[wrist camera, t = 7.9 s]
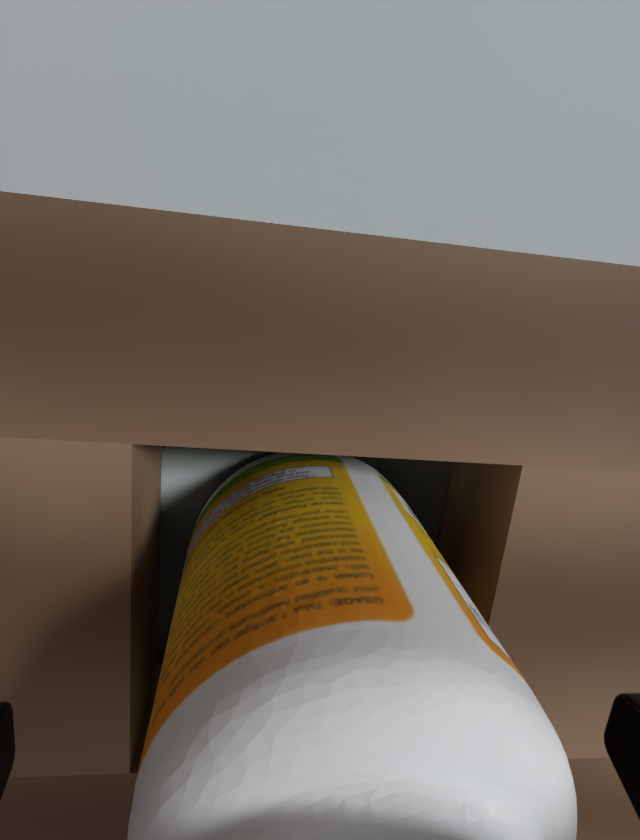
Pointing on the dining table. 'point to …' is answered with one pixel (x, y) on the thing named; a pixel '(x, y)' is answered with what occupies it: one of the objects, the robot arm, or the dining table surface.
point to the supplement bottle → (337, 680)
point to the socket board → (308, 434)
